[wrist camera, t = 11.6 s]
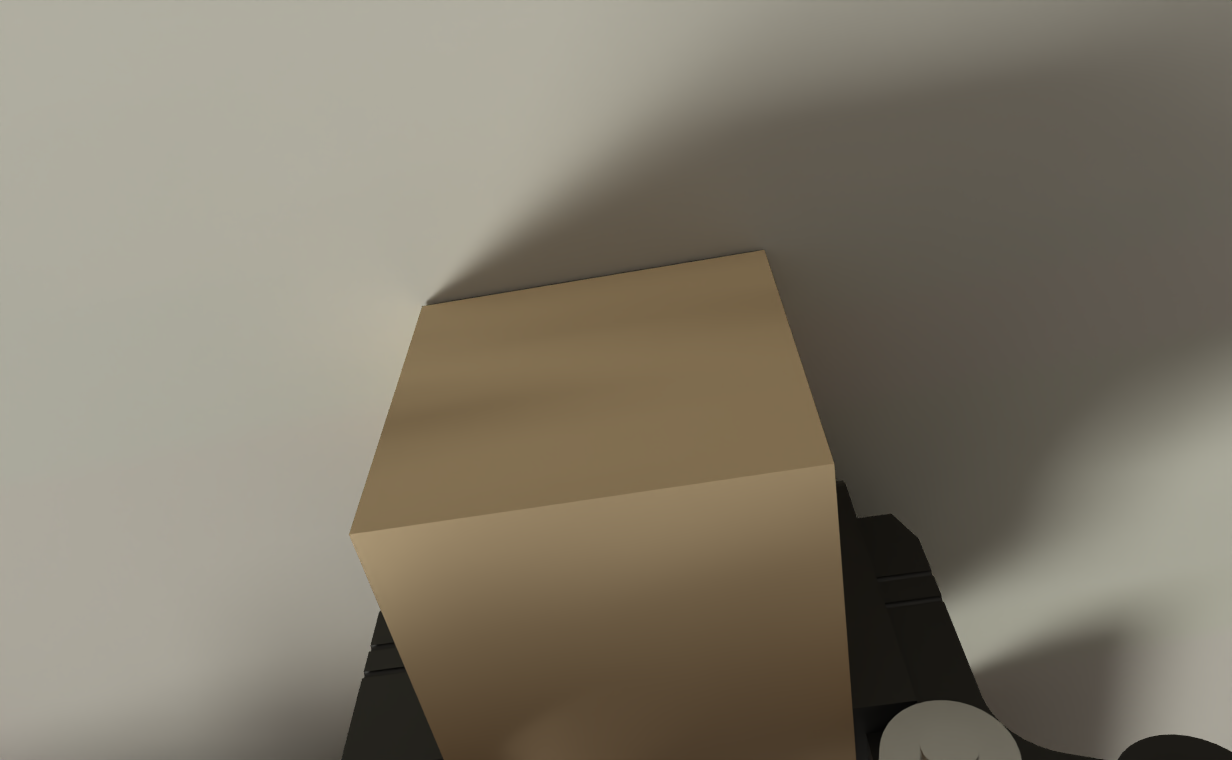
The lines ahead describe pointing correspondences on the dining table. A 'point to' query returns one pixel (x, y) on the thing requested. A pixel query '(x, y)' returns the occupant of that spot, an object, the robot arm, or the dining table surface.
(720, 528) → the block
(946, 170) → the dining table surface
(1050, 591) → the dining table surface
